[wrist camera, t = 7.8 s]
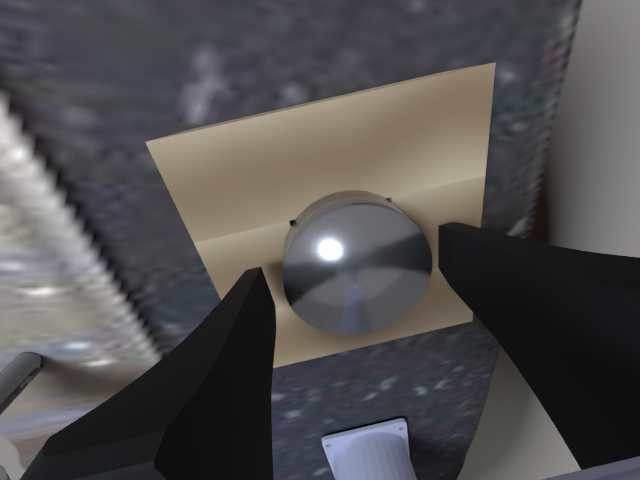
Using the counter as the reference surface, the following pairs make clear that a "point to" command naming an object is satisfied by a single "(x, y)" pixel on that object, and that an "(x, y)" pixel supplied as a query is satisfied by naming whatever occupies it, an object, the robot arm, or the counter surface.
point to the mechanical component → (17, 383)
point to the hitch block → (335, 186)
